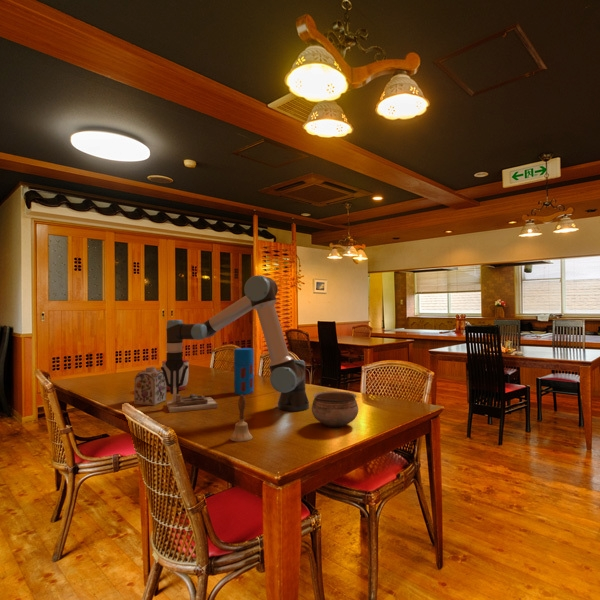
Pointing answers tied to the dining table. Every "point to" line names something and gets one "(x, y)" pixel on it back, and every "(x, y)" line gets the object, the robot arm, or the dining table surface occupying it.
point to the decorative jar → (149, 387)
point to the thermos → (243, 371)
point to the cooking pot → (335, 408)
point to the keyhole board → (174, 408)
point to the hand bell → (241, 425)
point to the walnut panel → (190, 400)
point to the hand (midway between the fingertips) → (174, 400)
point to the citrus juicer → (179, 375)
